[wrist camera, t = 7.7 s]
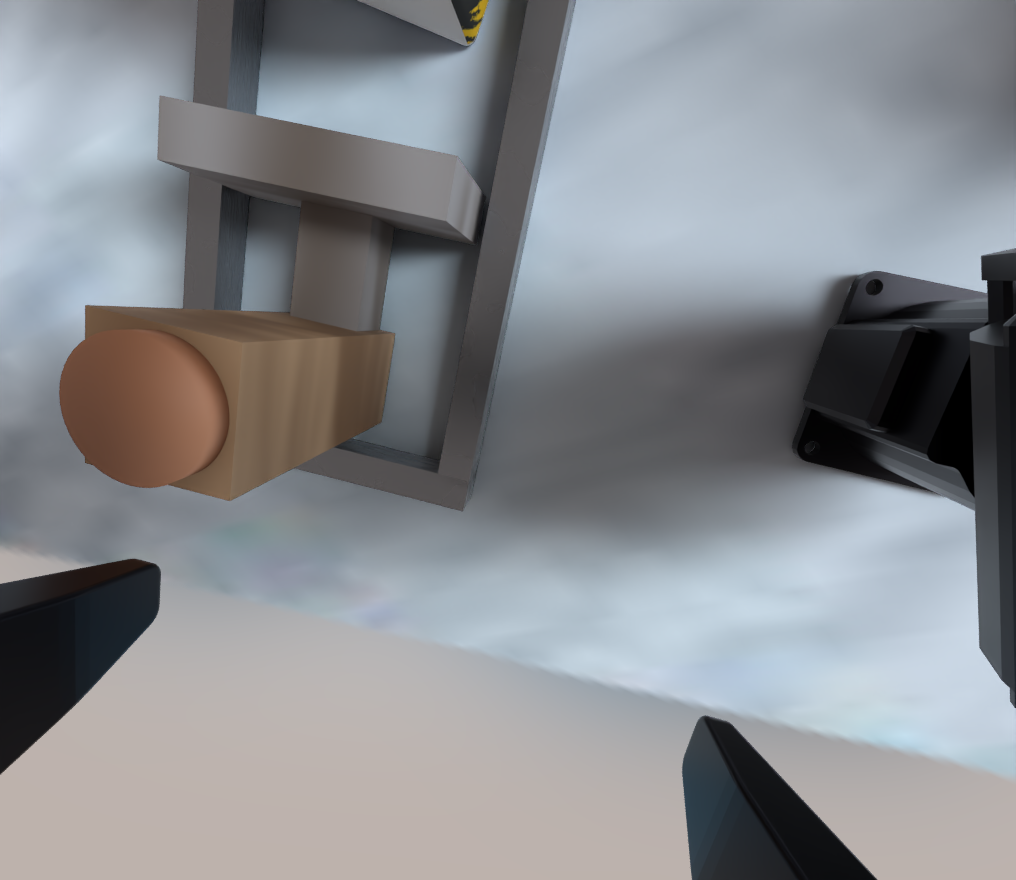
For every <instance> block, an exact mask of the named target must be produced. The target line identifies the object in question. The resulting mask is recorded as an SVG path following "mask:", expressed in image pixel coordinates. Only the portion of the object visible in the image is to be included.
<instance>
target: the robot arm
mask: <svg viewBox="0 0 1016 880" xmlns="http://www.w3.org/2000/svg"><path fill="white" fill-rule="evenodd" d="M981 272H982V280H987V289H988V294H987V293H983V292H978V291H973V290H968V289H963V288H959V287H954V286H949V285H944V284H939V283H934V282H930V281H925V280H920V279H915V278H910V277H905V276H901V275H896V274H891V273H886V272H881V271H873V272H867V273H864V274H861V275H860V276H859V277H857V278H856V279H855V281H854V282H853V284H852V286H851V289H850V291H849V294H848V297H847V299H846V302H845V305H844V307H843V310H842V313H841V315H840V318H839V321H838V323H837V325H836V326H834V327H833V328H831V329H829V331H828V333H827V335H826V338H825V341H824V343H823V346H822V349H821V352H820V354H819V357H818V360H817V362H816V365H815V368H814V370H813V373H812V376H811V378H810V381H809V384H808V387H807V389H806V392H805V395H804V398H803V400H804V402H805V404H806V409H805V411H804V414H803V417H802V419H801V422H800V425H799V427H798V430H797V433H796V435H795V438H794V441H793V445H792V449H793V452H794V454H795V455H796V456H797V457H799V458H801V459H802V460H805V461H807V462H811V463H815V464H819V465H823V466H828V467H832V468H836V469H840V470H845V471H849V472H853V473H857V474H861V475H866V476H870V477H874V478H878V479H883V480H887V481H891V482H895V483H900V484H904V485H908V486H912V487H916V488H921V489H925V490H929V491H933V492H936V493H938V494H940V495H942V496H944V497H946V498H949V499H951V500H953V501H955V502H957V503H959V504H961V505H964V506H966V507H968V508H970V509H972V510H974V511H975V521H976V553H977V584H978V615H979V646H980V649H981V651H982V652H983V654H984V655H985V657H986V658H987V659H988V661H989V662H990V664H991V665H992V667H993V668H994V670H995V671H996V673H997V674H998V676H999V677H1000V678H1001V680H1002V681H1003V682H1004V683H1005V684H1006V685H1007V686H1008V687H1009V688H1010V702H1011V703H1012V704H1013V706H1014V707H1015V708H1016V248H1015V249H1010V250H1006V251H1001V252H996V253H992V254H987V255H983V256H981ZM869 281H873V282H874V283H875V285H876V289H875V291H874V293H873V294H871V295H869V294H867V292H866V285H867V284H868V282H869ZM810 441H814V443H815V447H814V449H813V450H812V451H810V452H805V450H804V449H805V445H806V444H807V443H809V442H810ZM160 581H161V571H160V569H159V567H158V566H157V565H156V564H153V563H150V562H146V561H142V560H139V559H127V560H122V561H117V562H111V563H106V564H101V565H96V566H91V567H86V568H80V569H75V570H70V571H65V572H60V573H55V574H49V575H45V576H39V577H34V578H29V579H23V580H19V581H13V582H8V583H3V584H0V774H1V773H2V772H4V771H5V770H6V769H7V768H8V767H9V766H10V765H11V764H12V763H13V762H14V761H16V759H18V758H19V757H20V756H21V755H22V754H23V753H24V752H25V751H26V750H28V749H29V748H30V747H31V746H32V745H33V744H34V743H35V742H36V741H37V740H38V739H40V738H41V737H42V736H43V735H44V734H45V733H46V732H47V731H48V730H49V729H50V728H51V727H53V726H54V725H55V724H56V723H57V722H58V721H59V720H60V719H61V718H62V717H63V716H64V715H65V714H66V713H68V712H69V711H70V710H71V709H72V708H73V707H74V706H75V705H76V704H77V703H78V702H79V701H80V700H81V699H82V698H83V697H84V695H85V694H86V693H88V691H89V690H90V689H91V688H92V687H93V686H94V685H95V684H96V683H97V682H98V681H99V680H100V679H101V678H102V676H103V675H104V674H105V673H106V672H107V671H108V670H109V669H110V668H111V667H112V666H113V665H114V663H115V662H116V661H117V660H118V659H119V658H120V657H121V656H122V655H123V654H124V653H125V652H126V651H127V649H128V648H129V647H130V646H131V645H132V644H133V643H134V642H135V641H136V640H137V639H138V638H139V636H140V635H141V634H142V633H143V632H144V631H145V630H146V629H147V628H148V627H149V626H150V625H151V623H152V622H153V621H154V619H155V618H156V615H157V613H158V610H159V604H160ZM682 774H683V775H682V776H683V787H684V796H685V797H684V798H685V807H686V808H685V809H686V819H687V831H688V842H689V854H690V865H691V874H692V880H877V879H876V878H875V877H874V875H872V873H871V872H870V871H869V870H868V869H867V868H866V867H865V866H864V865H863V864H862V863H861V862H860V861H859V859H858V858H857V857H856V856H855V855H854V854H853V853H852V852H851V851H850V850H849V849H848V848H847V847H846V846H845V845H844V844H843V842H842V841H841V840H840V839H839V838H838V837H837V836H836V835H835V834H834V833H833V832H832V831H831V830H830V829H829V828H828V826H827V825H826V824H825V823H824V822H823V821H822V820H821V819H820V818H819V817H818V816H817V815H816V814H815V813H814V811H813V810H812V809H811V808H810V807H809V806H808V805H807V804H806V803H805V802H804V801H803V800H802V799H801V798H800V797H799V796H798V794H796V792H795V791H794V790H793V789H792V788H791V787H790V786H789V785H788V784H787V783H786V782H785V781H784V779H782V777H781V776H780V775H779V774H778V773H777V772H776V771H775V770H774V769H773V768H772V767H771V766H770V765H769V763H768V762H767V761H766V760H765V759H764V758H763V757H762V756H761V755H760V754H759V753H758V752H757V751H756V750H755V749H754V747H752V745H751V744H750V743H749V742H748V741H747V740H746V739H745V738H744V737H743V736H742V735H741V734H740V733H739V731H738V730H737V729H736V728H735V727H734V726H733V725H732V724H731V723H729V722H727V721H724V720H721V719H717V718H714V717H710V716H706V715H705V716H702V717H700V719H699V720H698V722H697V724H696V726H695V729H694V731H693V734H692V737H691V739H690V742H689V745H688V747H687V750H686V753H685V755H684V759H683V767H682Z"/></svg>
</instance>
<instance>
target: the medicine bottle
mask: <svg viewBox="0 0 1016 880" xmlns="http://www.w3.org/2000/svg"><path fill="white" fill-rule="evenodd" d="M357 1H360V2H362V3H364V4H367V5H369V6H371V7H374V8H376V9H379V10H381V11H383V12H386V13H388V14H390V15H393V16H395V17H398V18H400V19H402V20H405V21H407V22H409V23H412V24H414V25H417V26H419V27H421V28H424V29H426V30H428V31H431V32H433V33H436V34H438V35H440V36H443V37H445V38H447V39H450V40H452V41H455V42H457V43H459V44H462V45H465V46H469V45H471V44H473V43H474V41H475V40H476V38H477V35H478V32H479V29H480V26H481V23H482V20H483V17H484V14H485V11H486V8H487V5H488V2H489V0H357Z"/></svg>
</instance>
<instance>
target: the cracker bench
mask: <svg viewBox="0 0 1016 880" xmlns="http://www.w3.org/2000/svg"><path fill="white" fill-rule="evenodd" d="M264 2H265V0H198V17H197V37H196V57H195V77H194V97H193V102H194V103H199V104H204V105H209V106H214V107H218V108H223V109H228V110H233V111H238V112H243V113H248V114H253V115H256V105H257V92H258V79H259V66H260V54H261V41H262V28H263V15H264ZM575 2H576V0H528V3H527V8H526V13H525V18H524V24H523V29H522V34H521V39H520V45H519V50H518V55H517V60H516V66H515V71H514V76H513V81H512V87H511V92H510V97H509V102H508V108H507V113H506V118H505V123H504V129H503V134H502V139H501V144H500V150H499V155H498V160H497V165H496V171H495V176H494V181H493V186H492V192H491V197H490V202H489V207H488V213H487V218H486V223H485V228H484V234H483V239H482V244H481V249H480V255H479V260H478V265H477V270H476V276H475V281H474V286H473V291H472V297H471V302H470V307H469V312H468V318H467V323H466V328H465V333H464V339H463V344H462V349H461V354H460V360H459V365H458V370H457V375H456V381H455V386H454V391H453V396H452V402H451V407H450V412H449V417H448V423H447V428H446V433H445V438H444V444H443V449H442V454H441V459H440V461H439V460H435V459H431V458H427V457H423V456H419V455H415V454H411V453H407V452H403V451H399V450H395V449H391V448H387V447H383V446H379V445H375V444H371V443H367V442H363V441H359V440H355V439H351V438H350V439H348V440H347V441H345V442H343V443H341V444H339V445H337V446H335V447H333V448H331V449H329V450H327V451H325V452H323V453H322V454H320V455H318V456H316V457H314V458H312V459H310V460H308V461H306V462H304V463H302V464H300V465H298V466H296V467H295V468H296V469H300V470H304V471H308V472H312V473H316V474H320V475H323V476H327V477H331V478H335V479H339V480H343V481H347V482H351V483H355V484H359V485H363V486H366V487H370V488H374V489H378V490H382V491H386V492H390V493H394V494H398V495H402V496H406V497H410V498H413V499H417V500H421V501H425V502H429V503H433V504H437V505H441V506H445V507H449V508H453V509H456V510H460V511H463V510H464V508H465V507H466V505H467V503H468V502H469V500H470V498H471V495H472V490H473V485H474V480H475V476H476V471H477V466H478V461H479V457H480V452H481V447H482V442H483V438H484V433H485V428H486V423H487V419H488V414H489V409H490V405H491V400H492V395H493V390H494V386H495V381H496V376H497V371H498V367H499V362H500V357H501V352H502V348H503V343H504V338H505V333H506V329H507V324H508V319H509V314H510V310H511V305H512V300H513V295H514V291H515V286H516V281H517V277H518V272H519V267H520V262H521V258H522V253H523V248H524V243H525V239H526V234H527V229H528V224H529V220H530V215H531V210H532V205H533V201H534V196H535V191H536V186H537V182H538V177H539V172H540V167H541V163H542V158H543V153H544V149H545V144H546V139H547V134H548V130H549V125H550V120H551V115H552V111H553V106H554V101H555V96H556V92H557V87H558V82H559V77H560V73H561V68H562V63H563V58H564V54H565V49H566V44H567V39H568V35H569V30H570V25H571V21H572V16H573V11H574V6H575ZM248 207H249V195H247V194H244V193H242V192H239V191H237V190H234V189H231V188H229V187H226V186H224V185H221V184H219V183H216V182H214V181H211V180H208V179H206V178H203V177H201V176H198V175H196V174H193V173H191V172H190V178H189V198H188V218H187V238H186V258H185V278H184V299H183V309H203V310H231V311H240V310H241V297H242V284H243V272H244V259H245V246H246V233H247V220H248Z"/></svg>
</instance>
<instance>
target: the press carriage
mask: <svg viewBox="0 0 1016 880" xmlns="http://www.w3.org/2000/svg"><path fill="white" fill-rule="evenodd" d="M158 160H160V161H163V162H165V163H168V164H170V165H173V166H175V167H178V168H180V169H183V170H186V171H188V172H191V173H193V174H196V175H198V176H201V177H203V178H206V179H208V180H211V181H214V182H216V183H219V184H221V185H224V186H226V187H229V188H231V189H234V190H237V191H239V192H242V193H244V194H247V195H249V196H252V197H254V198H259V199H264V200H268V201H273V202H277V203H282V204H287V205H291V206H296V207H301V211H300V220H299V230H298V240H297V250H296V260H295V269H294V279H293V289H292V299H291V308H290V313H287V312H259V311H231V310H203V309H175V308H147V307H119V306H91V305H85V340H84V341H82V342H81V343H80V344H79V345H78V346H77V347H76V348H75V349H74V350H73V351H72V353H71V354H70V356H69V357H68V359H67V361H66V363H65V365H64V368H63V371H62V374H61V380H60V391H59V395H60V406H61V411H62V415H63V418H64V422H65V425H66V427H67V429H68V432H69V434H70V436H71V437H72V439H73V441H74V443H75V444H76V446H77V447H78V449H79V450H80V451H81V453H82V454H83V455H84V456H85V463H87V464H91V465H94V466H95V467H96V468H97V469H99V470H100V471H101V472H103V473H104V474H106V475H107V476H109V477H111V478H112V479H115V480H117V481H119V482H121V483H124V484H127V485H130V486H135V487H143V488H153V487H160V486H165V485H171V486H175V487H178V488H182V489H186V490H190V491H194V492H197V493H201V494H205V495H209V496H213V497H216V498H220V499H224V500H228V501H231V500H233V499H235V498H237V497H239V496H241V495H243V494H244V493H246V492H248V491H250V490H252V489H254V488H256V487H258V486H260V485H262V484H264V483H266V482H268V481H270V480H271V479H273V478H275V477H277V476H279V475H281V474H283V473H285V472H287V471H289V470H291V469H293V468H295V467H296V466H298V465H300V464H302V463H304V462H306V461H308V460H310V459H312V458H314V457H316V456H318V455H320V454H322V453H323V452H325V451H327V450H329V449H331V448H333V447H335V446H337V445H339V444H341V443H343V442H345V441H347V440H348V439H350V438H352V437H354V436H356V435H358V434H360V433H362V432H364V431H366V430H368V429H370V428H372V427H374V426H375V425H377V424H379V423H381V422H382V416H383V410H384V403H385V397H386V391H387V384H388V378H389V371H390V365H391V358H392V352H393V346H394V339H395V333H391V332H387V331H382V330H380V324H381V317H382V310H383V303H384V297H385V290H386V283H387V276H388V269H389V263H390V256H391V249H392V242H393V236H394V229H395V228H398V229H403V230H407V231H412V232H416V233H421V234H426V235H430V236H435V237H440V238H444V239H449V240H453V241H458V242H463V243H467V244H472V245H477V242H478V237H479V231H480V226H481V221H482V216H483V210H484V205H485V200H486V196H485V195H484V194H483V192H482V191H481V189H480V188H479V186H478V185H477V184H476V182H475V181H474V179H473V178H472V176H471V175H470V173H469V172H468V171H467V169H466V168H465V166H464V165H463V163H462V162H461V161H460V159H459V158H458V156H455V155H450V154H445V153H440V152H435V151H430V150H425V149H420V148H415V147H410V146H405V145H401V144H396V143H391V142H386V141H381V140H376V139H371V138H366V137H361V136H356V135H351V134H346V133H341V132H337V131H332V130H327V129H322V128H317V127H312V126H307V125H302V124H297V123H292V122H287V121H282V120H277V119H273V118H268V117H263V116H258V115H253V114H248V113H243V112H238V111H233V110H228V109H223V108H218V107H214V106H209V105H204V104H199V103H194V102H189V101H184V100H179V99H174V98H169V97H164V96H160V101H159V130H158Z"/></svg>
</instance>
